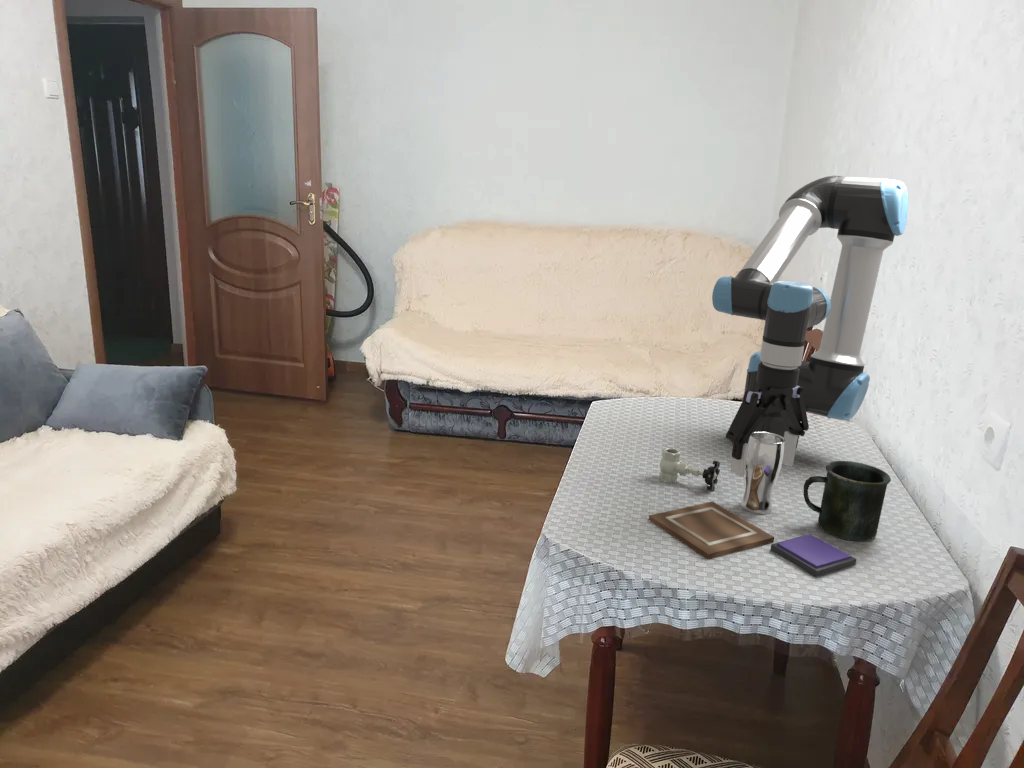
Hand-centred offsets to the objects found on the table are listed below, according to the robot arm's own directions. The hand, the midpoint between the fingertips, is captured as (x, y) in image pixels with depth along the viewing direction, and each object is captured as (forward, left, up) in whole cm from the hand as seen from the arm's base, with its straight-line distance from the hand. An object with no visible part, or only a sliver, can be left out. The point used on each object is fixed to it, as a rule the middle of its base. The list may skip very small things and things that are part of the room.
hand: (762, 469), depth 152 cm
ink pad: (+6, +19, -8) cm, 22 cm away
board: (+16, +4, -8) cm, 18 cm away
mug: (-8, +13, -9) cm, 18 cm away
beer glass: (0, 0, -9) cm, 9 cm away
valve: (+5, -15, -9) cm, 18 cm away
